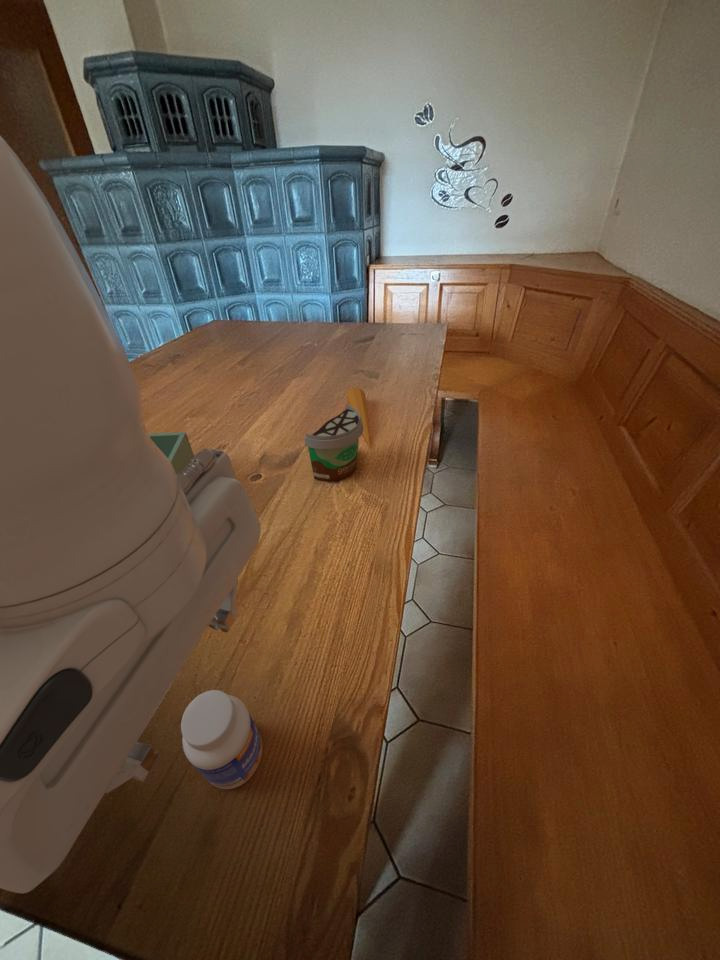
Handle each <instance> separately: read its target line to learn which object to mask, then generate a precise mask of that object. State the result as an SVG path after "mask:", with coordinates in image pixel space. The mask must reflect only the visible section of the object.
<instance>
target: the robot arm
mask: <svg viewBox="0 0 720 960" xmlns="http://www.w3.org/2000/svg"><path fill="white" fill-rule="evenodd" d="M142 399H143V398H142V393H141V388H140V384H139V382H138V380H137V376H136V374H135V372H134V369H133V367H132V365H131V362H130V360H129V357H128V356H127V353H126V351H125V349H124V345H123V344H122V342H121V339H120V337H119V334H118V333H117V331H116V328H115V327H114V324H113V322H112V320H111V317H110V316H109V314H108V311H107V309H106V308H105V305H104V303H103V301H102V298H101V297H100V295H99V293H98V291H97V288H96V287H95V285H94V283H93V280H92V279H91V277H90V275H89V273H88V271H87V269H86V268H85V265H84V263H83V261H82V260H81V257H80V255H79V253H78V251H77V250H76V248H75V246H74V244H73V242H72V241H71V239H70V237H69V236H68V233H67V232H66V230H65V228H64V226H63V225H62V223H61V221H60V220H59V218H58V215H56V213H55V211H54V209H53V208H52V206H51V204H50V203H49V200H48V199H47V197H46V196H45V194H44V193H43V191H42V190H41V188H40V186H39V185H38V184H37V182H36V180H35V179H34V177H33V176H32V174H31V173H30V171H29V170H28V168H27V167H26V166H25V164H24V163H23V162H22V160H21V159H20V158H19V156H18V155H17V153H15V151H14V149H13V148H12V147H11V146H10V145H9V144H8V142H7V141H6V140H5V138H3V136H1V135H0V889H1V890H4V891H8V892H12V893H15V894H27V893H29V892H31V891H33V890H34V889H35V888H36V887H38V886H39V885H40V884H41V883H43V881H45V880H46V879H47V878H49V876H51V875H52V874H53V873H54V872H55V871H56V870H57V869H58V868H59V867H60V866H61V865H62V863H63V862H64V861H65V859H66V857H67V856H68V854H69V852H70V851H71V849H72V848H73V846H74V844H75V843H76V841H77V840H78V837H79V836H80V834H81V832H82V831H83V829H84V828H85V826H86V824H87V823H88V821H89V820H90V818H91V817H92V815H93V813H94V811H95V810H96V808H97V807H98V805H99V804H100V801H101V800H102V799H103V797H104V796H105V794H109V793H110V792H112V791H114V790H115V789H117V788H118V787H120V786H122V785H123V784H125V783H127V782H128V781H129V780H131V779H134V780H136V781H139V782H142V783H144V782H145V780H146V778H147V776H148V774H149V772H150V771H151V770H152V768H153V766H154V764H155V762H156V760H157V758H159V757H158V756H159V755H160V752H159V751H157V750H156V749H155V748H154V746H152V745H150V744H147V743H146V742H142V741H141V742H139V741H138V740H140V737H141V735H142V734H143V732H144V731H145V729H146V727H147V726H148V724H149V723H150V721H151V719H152V718H153V717H154V714H155V713H156V711H157V710H158V708H159V706H160V705H161V703H162V701H163V700H164V698H165V697H166V695H167V693H168V692H169V690H170V689H171V687H172V686H173V684H174V682H175V681H176V679H177V677H178V676H179V675H180V673H181V671H182V669H183V668H184V667H185V665H186V663H187V661H188V659H189V658H190V656H191V655H192V653H193V652H194V650H195V648H196V646H198V643H199V642H200V640H201V639H202V637H203V635H204V634H205V632H206V631H207V629H208V627H209V628H210V629H213V630H216V631H219V630H221V632H223V633H229V631H230V630H231V628H232V626H233V625H234V623H235V621H236V620H237V618H238V616H239V613H238V610H237V608H236V602H237V601H236V600H237V593H238V585H239V578H240V575H241V574H242V572H243V571H244V569H245V567H246V566H247V564H248V562H249V561H250V560H251V558H252V556H253V555H254V553H255V551H256V550H257V548H258V546H259V544H260V539H261V531H262V528H261V527H262V526H261V522H260V520H259V516H258V513H257V512H256V509H255V506H254V504H253V502H252V499H251V497H250V496H249V493H248V491H247V489H246V488H245V486H244V485H243V484H242V482H240V481H239V480H238V479H236V475H235V471H234V468H233V464H232V461H231V460H232V459H231V458H230V456H229V454H228V453H225V452H224V451H223V450H221V449H219V448H213V449H207V448H204V449H202V450H200V451H198V452H197V453H196V454H194V457H193V458H192V459H191V460H190V461H189V464H188V465H187V466H186V467H185V468H184V469H183V470H181V471H180V472H179V473H177V474H176V472H175V470H174V468H173V466H172V464H171V463H170V461H169V459H168V458H167V457H166V455H165V454H164V453H163V452H162V451H161V450H160V449H159V448H158V447H157V446H156V444H155V443H154V442H153V441H152V439H151V438H150V436H149V434H150V433H149V432H148V430H147V428H146V425H145V420H144V414H143V400H142Z"/></svg>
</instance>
